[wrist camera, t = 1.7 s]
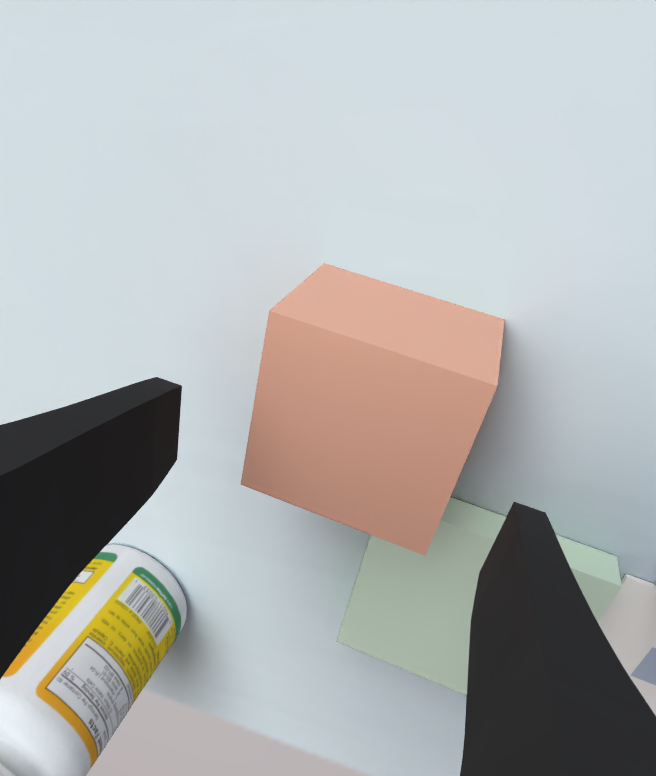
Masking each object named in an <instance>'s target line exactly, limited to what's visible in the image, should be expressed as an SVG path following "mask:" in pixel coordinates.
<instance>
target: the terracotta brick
mask: <svg viewBox="0 0 656 776" xmlns="http://www.w3.org/2000/svg"><path fill="white" fill-rule="evenodd" d="M504 321H505V320H504V319H501V318H498V317H495V316H492V315H488V314H485V313H482V312H479V311H475V310H472V309H469V308H466V307H463V306H459V305H456V304H453V303H450V302H447V301H443V300H440V299H437V298H434V297H430V296H427V295H424V294H421V293H418V292H414V291H411V290H408V289H405V288H402V287H398V286H395V285H392V284H389V283H385V282H382V281H379V280H376V279H373V278H369V277H366V276H363V275H360V274H357V273H353V272H350V271H347V270H344V269H340V268H337V267H334V266H331V265H328V264H323V265H322V266H321V267H320V268H318V269H317V270H316V271H315V272H314V273H313V274H311V275H310V276H309V277H308V278H307V279H306V280H304V281H303V282H302V283H301V284H300V285H299V286H297V287H296V288H295V289H294V290H293V291H292V292H290V293H289V294H288V295H287V296H286V297H285V298H283V299H282V300H281V301H280V302H279V303H278V304H277V305H275V306H274V307H273V308H272V309H271V310H270V311H269V316H268V322H267V328H266V334H265V340H264V346H263V352H262V358H261V364H260V370H259V377H258V383H257V389H256V395H255V401H254V407H253V413H252V419H251V425H250V431H249V437H248V443H247V449H246V455H245V461H244V468H243V474H242V480H241V485H244V486H246V487H249V488H251V489H254V490H256V491H259V492H262V493H264V494H267V495H269V496H272V497H275V498H277V499H280V500H282V501H285V502H287V503H290V504H293V505H295V506H298V507H300V508H303V509H306V510H308V511H311V512H313V513H316V514H318V515H321V516H324V517H326V518H329V519H331V520H334V521H337V522H339V523H342V524H344V525H347V526H350V527H352V528H355V529H357V530H360V531H362V532H365V533H368V534H370V535H373V536H375V537H378V538H381V539H383V540H386V541H388V542H391V543H393V544H396V545H399V546H401V547H404V548H406V549H409V550H412V551H414V552H417V553H419V554H422V555H424V556H425V555H426V553H427V551H428V548H429V546H430V544H431V541H432V539H433V536H434V534H435V532H436V529H437V527H438V525H439V522H440V520H441V518H442V515H443V513H444V511H445V508H446V506H447V504H448V501H449V499H450V497H451V494H452V492H453V490H454V487H455V485H456V482H457V480H458V478H459V475H460V473H461V471H462V468H463V466H464V464H465V461H466V459H467V457H468V454H469V452H470V450H471V447H472V445H473V443H474V440H475V438H476V435H477V433H478V431H479V428H480V426H481V424H482V421H483V419H484V417H485V414H486V412H487V410H488V407H489V405H490V403H491V400H492V398H493V396H494V393H495V391H496V389H497V386H498V377H499V368H500V359H501V349H502V340H503V330H504Z"/></svg>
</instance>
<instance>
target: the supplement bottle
mask: <svg viewBox="0 0 656 776" xmlns="http://www.w3.org/2000/svg"><path fill="white" fill-rule="evenodd" d="M186 615H187V606H186V600H185V596H184V594H183V591H182V589H181V587H180V586H179V584H178V582H177V581H176V580H175V578H174V577H173V575H172V574H171V573H170V572H169V571H168V570H167V569H166V568H165V567H164V566H163V565H161V564H160V563H159V562H158V561H156V560H155V559H154V558H152V557H150V556H149V555H147V554H145V553H143V552H141V551H139V550H137V549H134V548H131V547H127V546H123V545H106V546H105V547H104V548H103V549H102V550H101V551H100V552H99V553H98V555H97V556H96V557H95V558H94V559H93V560H92V561H91V562H90V563H89V564H88V565H87V566H86V567H85V568H84V570H83V571H82V572H81V573H80V574H79V575H78V576H77V578H76V579H75V580H74V581H73V582H72V583H71V585H70V586H69V587H68V588H67V589H66V591H65V592H64V593H63V595H62V596H61V597H60V599H59V600H58V601H57V603H56V604H55V605H54V606H53V608H52V609H51V610H50V612H49V613H48V614H47V616H46V617H45V618H44V620H43V621H42V622H41V624H40V625H39V626H38V628H37V629H36V630H35V632H34V633H33V634H32V636H31V637H30V639H29V640H28V641H27V643H26V644H25V646H24V647H23V648H22V650H21V651H20V653H19V654H18V655H17V657H16V658H15V659H14V661H13V662H12V664H11V665H10V666H9V668H8V669H7V671H6V672H5V674H4V675H3V676H2V678H1V679H0V776H86V774H87V773H88V772H89V770H90V768H91V767H92V766H93V764H94V763H95V761H96V760H97V758H98V757H99V755H100V754H101V752H102V751H103V749H104V748H105V746H106V745H107V743H108V742H109V740H110V739H111V737H112V735H113V734H114V732H115V731H116V729H117V728H118V726H119V725H120V723H121V722H122V720H123V719H124V717H125V716H126V714H127V712H128V711H129V709H130V708H131V706H132V704H133V703H134V701H135V700H136V698H137V697H138V695H139V694H140V692H141V691H142V689H143V688H144V686H145V685H146V683H147V682H148V680H149V679H150V677H151V676H152V674H153V672H154V671H155V669H156V668H157V666H158V665H159V663H160V662H161V660H162V659H163V657H164V656H165V654H166V653H167V651H168V650H169V648H170V647H171V645H172V644H173V643H174V641H175V640H176V638H177V636H178V634H179V633H180V631H181V630H182V628H183V626H184V624H185V621H186Z"/></svg>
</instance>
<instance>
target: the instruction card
mask: <svg viewBox="0 0 656 776" xmlns="http://www.w3.org/2000/svg"><path fill="white" fill-rule="evenodd" d="M621 584H622V587H621V589H620V590H619V592H618V593H617V595H616V596H615V597H614V599H613V600H612V602H611V603H610V605H609V606H608V607H607V609H606V610H605V612H604V613H603V615H602V616H601V618H600V619H599V620H598V624H599V626H600V628H601V629H602V631H603V633H604V635H605V636H606V638H607V640H608V642H609V643H610V645H611V647H612V649H613V650H614V652H615V654H616V655H617V657H618V659H619V661H620V662H621V664H622V665H623V667H624V669H625V670H626V672H627V673H628V675H629V677H630V678H631V680H632V681H633V683H634V684H635V686H636V687H637V689H638V690H639V692H640V693H641V695H642V696H643V698H644V699H645V701H646V702H647V704H648V705H649V707H650V708H651V710H652V711H653V713H654V714H655V715H656V584H653V583H650V582H647V581H644V580H642V579H639V578H636V577H633V576H631V575H628V574H626V575H625V576H624V578H623V579H622V581H621Z"/></svg>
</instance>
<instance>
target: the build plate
mask: <svg viewBox="0 0 656 776" xmlns="http://www.w3.org/2000/svg"><path fill="white" fill-rule="evenodd" d="M505 519H506V517H505V516H502V515H499V514H497V513H494V512H491V511H488V510H485V509H483V508H480V507H477V506H474V505H471V504H469V503H466V502H463V501H460V500H457V499H455V498H452V497H450V499H449V501H448V504H447V506H446V508H445V511H444V513H443V515H442V518H441V520H440V522H439V525H438V527H437V529H436V532H435V534H434V536H433V539H432V541H431V544H430V546H429V548H428V551H427V553H426V555H425V556H424V555H422V554H419V553H417V552H414V551H412V550H409V549H406V548H404V547H401V546H399V545H396V544H393V543H391V542H388V541H386V540H383V539H381V538H378V537H375V536H373V535H370V538H369V541H368V545H367V548H366V551H365V554H364V557H363V560H362V563H361V566H360V569H359V572H358V575H357V578H356V582H355V585H354V588H353V591H352V594H351V597H350V600H349V603H348V606H347V609H346V612H345V615H344V619H343V622H342V625H341V628H340V631H339V634H338V637H337V640H336V642H339V643H341V644H344V645H346V646H348V647H351V648H353V649H356V650H358V651H360V652H363V653H365V654H368V655H370V656H372V657H375V658H377V659H380V660H382V661H384V662H387V663H389V664H392V665H394V666H397V667H399V668H401V669H404V670H406V671H409V672H411V673H413V674H416V675H418V676H421V677H423V678H425V679H428V680H430V681H433V682H435V683H437V684H440V685H442V686H445V687H447V688H449V689H452V690H454V691H457V692H459V693H462V694H464V695H466V696H467V682H468V662H469V643H470V626H471V616H472V610H473V604H474V598H475V593H476V587H477V582H478V577H479V572H480V570H481V568H482V566H483V564H484V562H485V560H486V558H487V556H488V554H489V552H490V550H491V548H492V546H493V543H494V541H495V539H496V537H497V535H498V533H499V531H500V529H501V527H502V525H503V523H504V521H505ZM556 537H557V539H558V541H559V544H560V546H561V548H562V550H563V553H564V555H565V557H566V559H567V561H568V564H569V566H570V568H571V570H572V572H573V574H574V576H575V579H576V581H577V583H578V585H579V587H580V589H581V591H582V593H583V595H584V597H585V599H586V601H587V603H588V605H589V607H590V609H591V611H592V613H593V615H594V616H595V618H596V620H597V622H598V620H599V619H600V618H601V616H602V615H603V613H604V612H605V610H606V609H607V607H608V606H609V605H610V603H611V602H612V600H613V599H614V597H615V596H616V595H617V593H618V592H619V590H620V589H621V587H622V584H621V578H620V572H619V567H618V561H617V556H614V555H612V554H609V553H606V552H603V551H600V550H598V549H595V548H592V547H589V546H586V545H584V544H581V543H578V542H575V541H572V540H570V539H567V538H564V537H561V536H558V535H556Z"/></svg>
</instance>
